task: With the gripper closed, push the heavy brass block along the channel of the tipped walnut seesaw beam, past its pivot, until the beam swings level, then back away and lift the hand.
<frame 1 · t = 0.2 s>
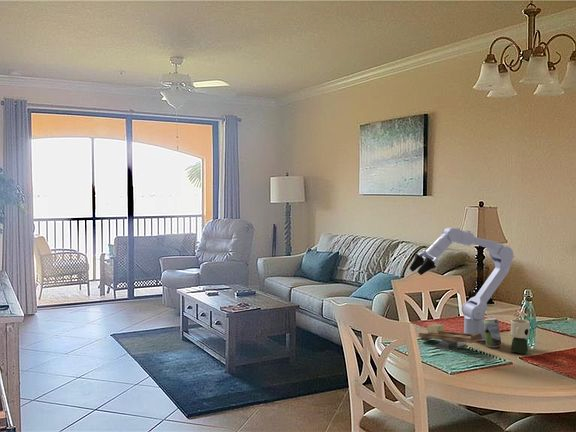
hand: (414, 271, 240), 31 cm above the table, tool tilted 45°, fingers open, 7 cm apart
beam: (449, 336, 235), point 4 cm above the table, hinge at 6.4°, touching brass block
pivot stand: (449, 346, 235), on the table
character mug: (519, 353, 227), on the table
beverage can: (491, 347, 235), on the table
brass block: (436, 334, 240), point 4 cm above the table, tilted 6°, touching beam
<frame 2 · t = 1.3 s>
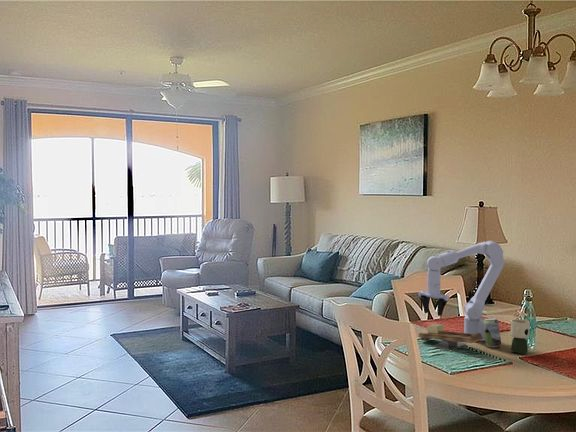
hand: (433, 314, 248), 10 cm above the table, tool pointing down, fingers open, 6 cm apart
nothing on the table moved.
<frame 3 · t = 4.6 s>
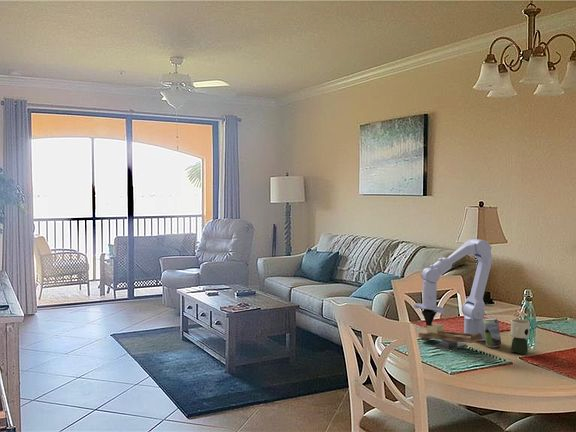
hand: (428, 327, 242), 6 cm above the table, tool pointing down, fingers closed
brass block: (435, 334, 240), point 4 cm above the table, tilted 6°, touching beam, gripper
everything else where it was.
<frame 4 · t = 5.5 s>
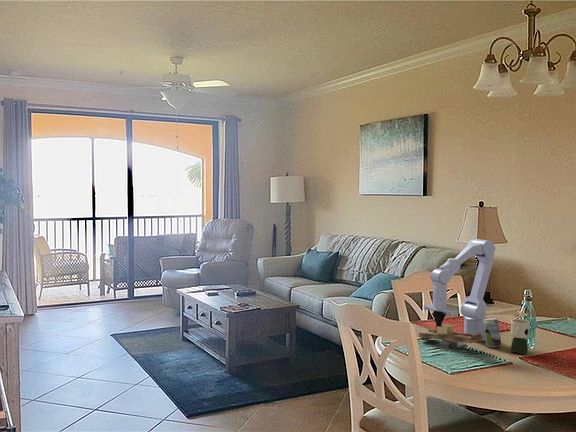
hand: (438, 329, 238), 6 cm above the table, tool pointing down, fingers closed, pressing on brass block
beam: (449, 336, 235), point 4 cm above the table, hinge at 6.0°
brass block: (445, 335, 236), point 4 cm above the table, tilted 6°, touching gripper
everything else where it was.
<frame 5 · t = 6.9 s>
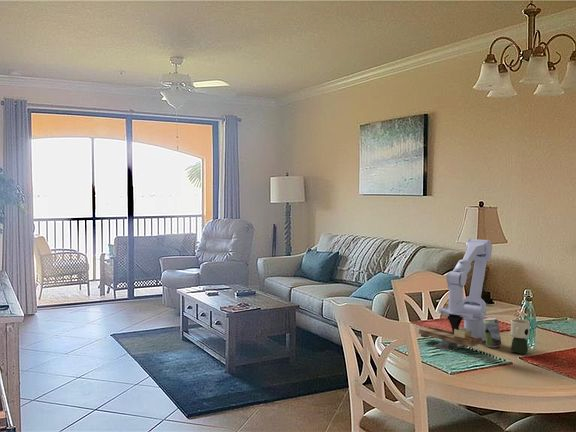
hand: (455, 332, 233), 6 cm above the table, tool pointing down, fingers closed
beam: (449, 336, 235), point 4 cm above the table, hinge at -0.7°, touching brass block
brass block: (462, 338, 230), point 4 cm above the table, touching beam, gripper
everything else where it was.
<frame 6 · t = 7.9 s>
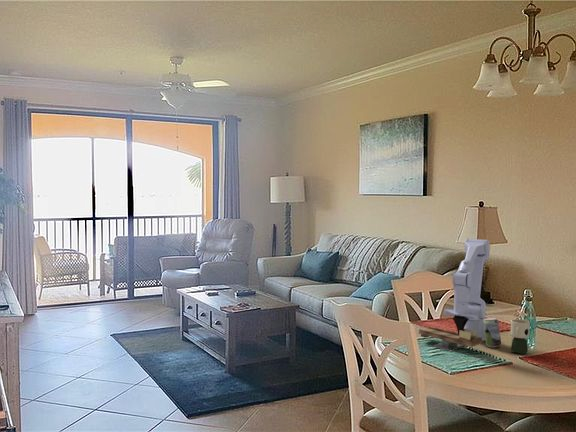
hand: (460, 334, 231), 6 cm above the table, tool pointing down, fingers closed
brass block: (467, 340, 229), point 4 cm above the table, touching beam, gripper
everything else where it was.
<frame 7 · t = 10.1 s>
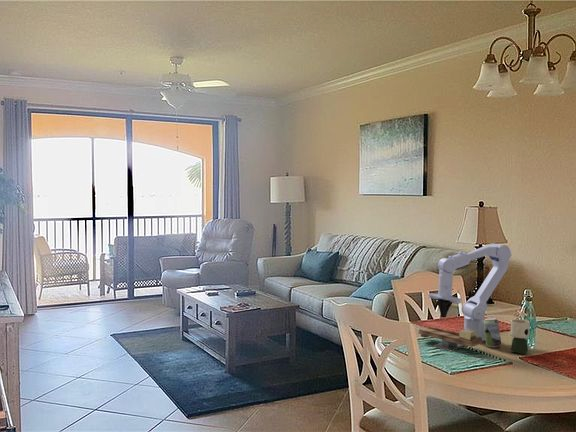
hand: (443, 317, 243), 10 cm above the table, tool pointing down, fingers closed
brass block: (467, 340, 228), point 4 cm above the table, touching beam
everything else where it was.
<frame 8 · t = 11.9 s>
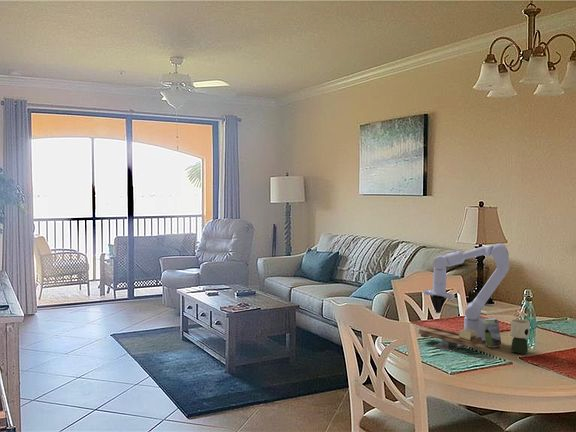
hand: (438, 312, 251), 10 cm above the table, tool pointing down, fingers closed
nothing on the table moved.
at the end: beam at -1° (first picture: +6°); brass block 1.3 cm from the target spot on the beam, point 0.9 cm above the beam's base; brass block point 4.4 cm above the table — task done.
